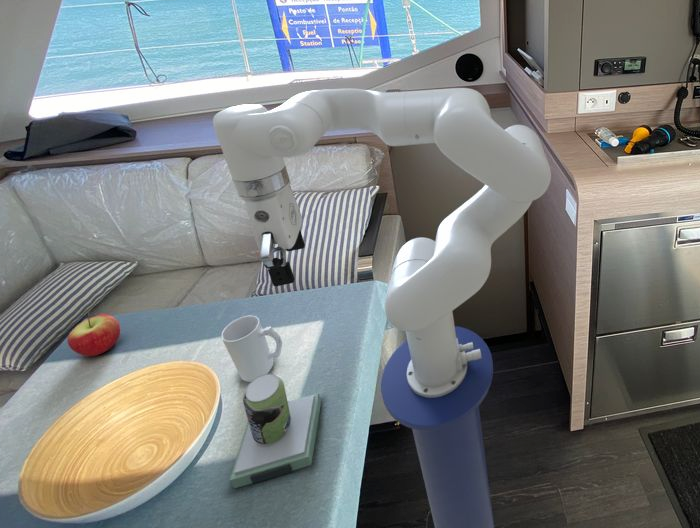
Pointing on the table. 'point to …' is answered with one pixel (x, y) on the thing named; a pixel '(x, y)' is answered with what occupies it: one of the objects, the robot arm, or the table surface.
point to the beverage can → (267, 408)
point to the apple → (94, 335)
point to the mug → (250, 347)
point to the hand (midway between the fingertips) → (290, 265)
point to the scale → (279, 446)
